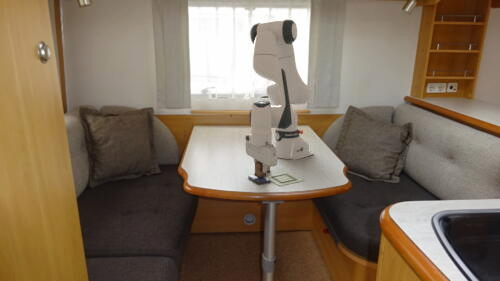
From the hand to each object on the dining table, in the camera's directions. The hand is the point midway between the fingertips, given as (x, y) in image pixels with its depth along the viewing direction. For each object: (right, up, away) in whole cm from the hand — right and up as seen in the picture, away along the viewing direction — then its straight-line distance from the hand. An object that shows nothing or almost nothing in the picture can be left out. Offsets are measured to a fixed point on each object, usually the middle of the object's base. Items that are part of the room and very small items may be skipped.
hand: (260, 170), depth 158 cm
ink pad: (-1, -5, +1) cm, 5 cm away
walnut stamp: (0, -3, +1) cm, 3 cm away
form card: (+10, -4, +3) cm, 11 cm away
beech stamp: (+2, -2, +12) cm, 12 cm away
